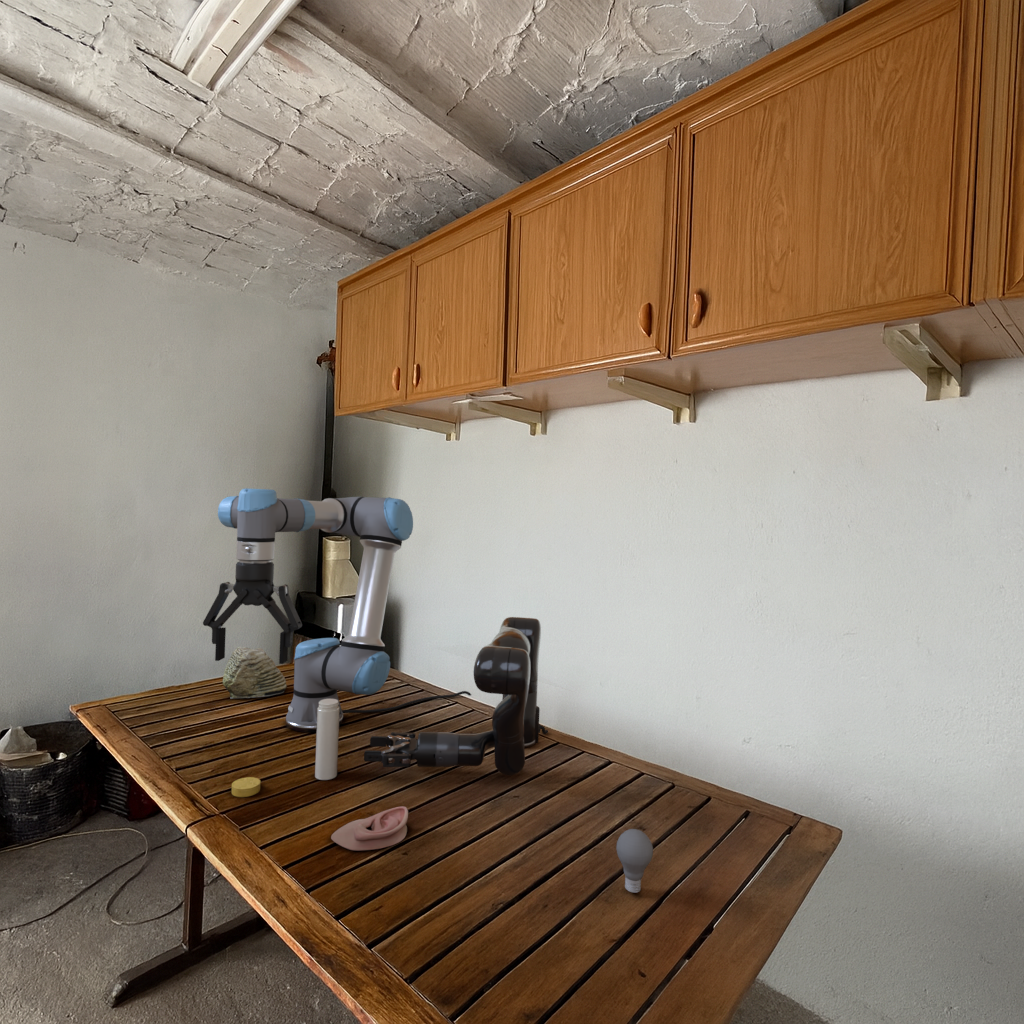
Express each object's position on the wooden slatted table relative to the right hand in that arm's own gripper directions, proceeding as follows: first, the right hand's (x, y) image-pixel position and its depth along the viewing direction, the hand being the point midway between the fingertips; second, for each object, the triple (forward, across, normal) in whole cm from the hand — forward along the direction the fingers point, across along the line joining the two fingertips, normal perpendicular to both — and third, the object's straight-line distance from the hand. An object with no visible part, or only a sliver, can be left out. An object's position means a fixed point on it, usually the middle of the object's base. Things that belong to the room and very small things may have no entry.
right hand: (367, 748), depth 145 cm
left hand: (+24, +8, -22) cm, 33 cm away
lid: (+24, +8, +5) cm, 26 cm away
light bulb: (-51, +43, +6) cm, 67 cm away
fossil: (+43, -56, +6) cm, 71 cm away
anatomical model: (-5, +26, +6) cm, 27 cm away
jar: (+9, 0, +6) cm, 11 cm away
